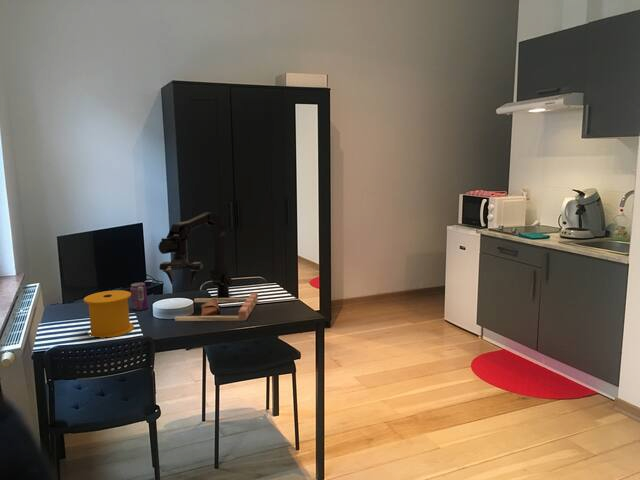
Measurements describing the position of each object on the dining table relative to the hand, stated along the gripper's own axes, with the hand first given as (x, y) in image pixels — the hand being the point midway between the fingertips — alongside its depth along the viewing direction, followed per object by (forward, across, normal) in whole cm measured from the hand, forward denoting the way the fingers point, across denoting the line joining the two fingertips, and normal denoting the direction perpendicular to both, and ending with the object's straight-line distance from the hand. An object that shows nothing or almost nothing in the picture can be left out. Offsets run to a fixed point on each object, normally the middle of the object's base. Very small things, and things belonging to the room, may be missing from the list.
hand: (182, 284), depth 239 cm
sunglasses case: (+13, +12, 0) cm, 18 cm away
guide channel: (+12, +16, 0) cm, 20 cm away
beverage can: (+13, -22, +4) cm, 26 cm away
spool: (+14, -22, -26) cm, 37 cm away
